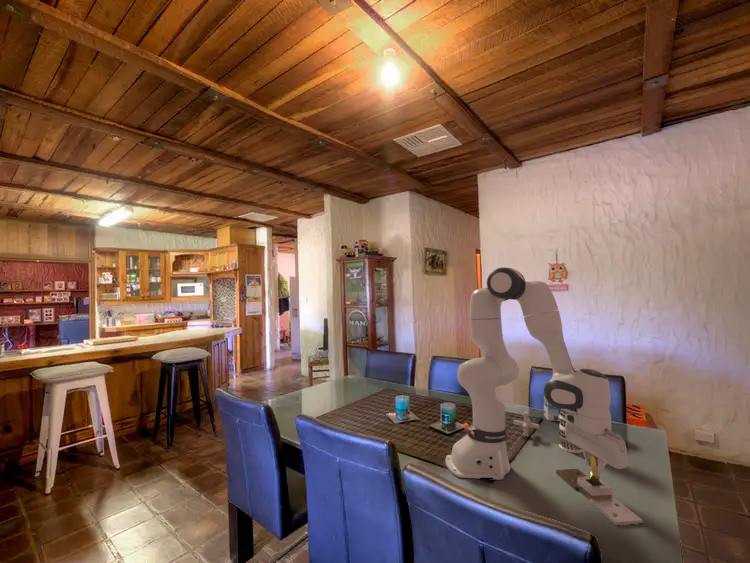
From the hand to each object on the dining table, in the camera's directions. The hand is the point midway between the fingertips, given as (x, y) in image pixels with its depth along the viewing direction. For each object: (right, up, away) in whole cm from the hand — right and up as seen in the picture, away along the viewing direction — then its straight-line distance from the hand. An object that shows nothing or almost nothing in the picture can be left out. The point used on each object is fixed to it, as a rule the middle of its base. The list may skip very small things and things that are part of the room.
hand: (594, 468), depth 107 cm
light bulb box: (+21, -9, +61) cm, 65 cm away
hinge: (0, -8, 0) cm, 8 cm away
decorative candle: (+10, -9, +31) cm, 34 cm away
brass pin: (0, -4, 0) cm, 4 cm away
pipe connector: (-3, -9, +42) cm, 43 cm away
